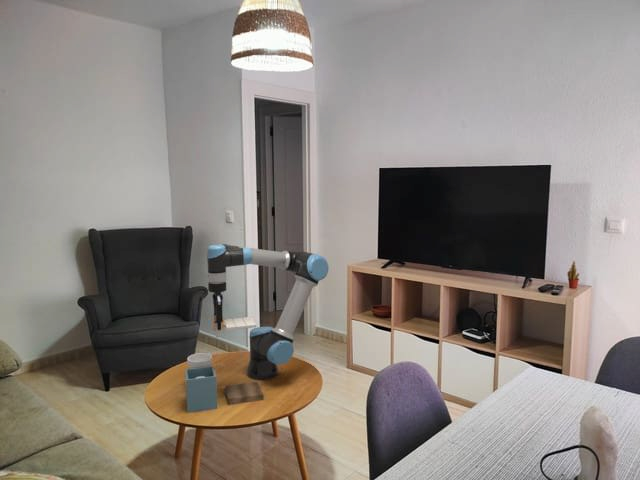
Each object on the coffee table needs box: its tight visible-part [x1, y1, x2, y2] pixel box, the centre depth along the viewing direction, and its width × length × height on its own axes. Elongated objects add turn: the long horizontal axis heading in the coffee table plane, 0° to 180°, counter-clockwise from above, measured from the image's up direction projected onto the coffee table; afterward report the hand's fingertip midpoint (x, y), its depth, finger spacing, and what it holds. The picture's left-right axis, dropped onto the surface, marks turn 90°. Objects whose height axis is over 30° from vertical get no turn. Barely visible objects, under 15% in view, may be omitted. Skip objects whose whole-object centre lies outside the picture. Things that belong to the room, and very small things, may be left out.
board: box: [224, 381, 265, 406], centre depth 219 cm, size 15×14×2 cm
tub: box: [184, 365, 218, 414], centre depth 210 cm, size 12×12×14 cm
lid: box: [212, 314, 257, 332], centre depth 214 cm, size 17×12×6 cm
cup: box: [186, 352, 213, 369], centre depth 227 cm, size 11×11×14 cm
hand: (218, 335), depth 212 cm, fingers closed on lid, 3 cm apart
